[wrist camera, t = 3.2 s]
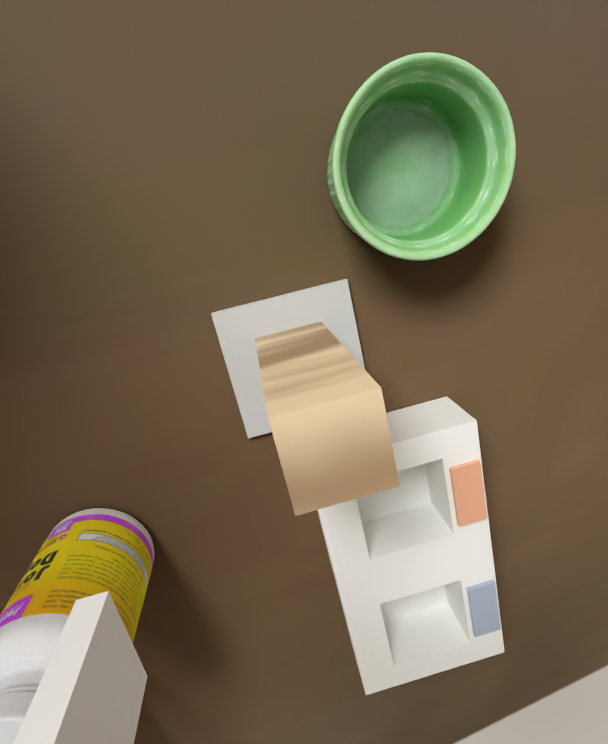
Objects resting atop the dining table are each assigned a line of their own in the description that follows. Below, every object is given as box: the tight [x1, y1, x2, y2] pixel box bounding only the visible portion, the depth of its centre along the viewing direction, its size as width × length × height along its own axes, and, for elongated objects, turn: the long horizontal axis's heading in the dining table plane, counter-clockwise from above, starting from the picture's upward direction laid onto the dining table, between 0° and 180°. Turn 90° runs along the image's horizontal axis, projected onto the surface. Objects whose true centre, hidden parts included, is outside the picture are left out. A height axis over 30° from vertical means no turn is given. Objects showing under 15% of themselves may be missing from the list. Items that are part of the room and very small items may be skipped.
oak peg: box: [255, 322, 400, 516], centre depth 22 cm, size 4×4×12 cm
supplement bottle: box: [0, 508, 154, 744], centre depth 24 cm, size 7×7×13 cm
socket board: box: [317, 397, 504, 695], centre depth 31 cm, size 18×10×4 cm, turn 13°
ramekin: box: [327, 53, 516, 261], centre depth 24 cm, size 9×9×4 cm
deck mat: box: [211, 279, 365, 438], centre depth 28 cm, size 8×8×1 cm
